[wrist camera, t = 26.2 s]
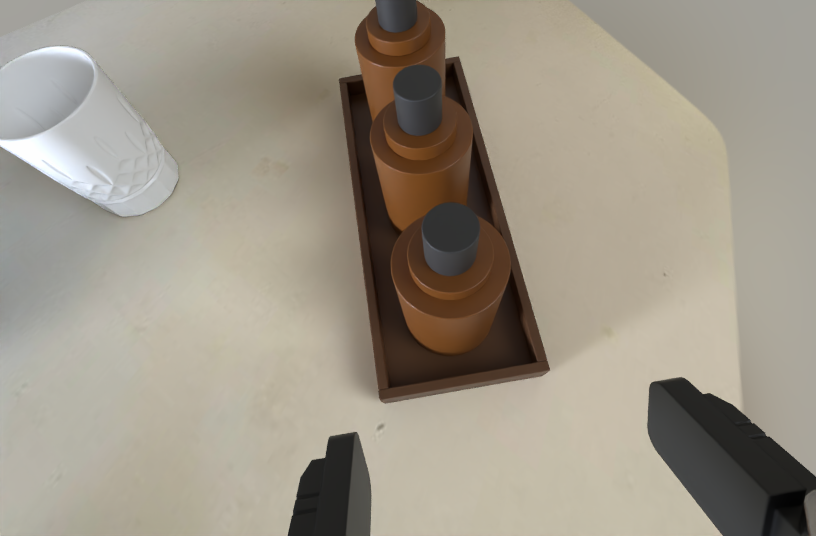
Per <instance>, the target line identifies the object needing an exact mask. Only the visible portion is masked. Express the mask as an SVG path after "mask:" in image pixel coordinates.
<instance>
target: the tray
mask: <svg viewBox="0 0 816 536" xmlns="http://www.w3.org/2000/svg"><path fill="white" fill-rule="evenodd" d="M339 83H340V91H341V99H342V107H343V114H344V122H345V130H346V138H347V146H348V154H349V162H350V170H351V177H352V185H353V193H354V201H355V209H356V217H357V225H358V232H359V240H360V248H361V256H362V264H363V272H364V280H365V287H366V295H367V303H368V311H369V319H370V327H371V335H372V342H373V350H374V358H375V366H376V374H377V382H378V389H379V398H380V400H381V401H382V402H383V403H391V402H397V401H402V400H408V399H414V398H419V397H425V396H431V395H436V394H442V393H448V392H454V391H459V390H465V389H471V388H476V387H482V386H488V385H493V384H499V383H505V382H511V381H516V380H522V379H528V378H533V377H539V376H543V375H544V374H546V373H547V372H548V371H550V368H549V364H548V361H546V360H547V358H546V354H545V351H544V347H543V344H542V341H541V337H540V334H539V330H538V327H537V323H536V320H535V316H534V313H533V310H532V306H531V303H530V299H529V296H528V292H527V289H526V285H525V282H524V279H523V275H522V272H521V268H520V265H519V261H518V258H517V255H516V251H515V248H514V244H513V241H512V237H511V234H510V230H509V227H508V224H507V220H506V217H505V213H504V210H503V206H502V203H501V199H500V196H499V193H498V189H497V186H496V182H495V179H494V175H493V172H492V169H491V165H490V162H489V158H488V155H487V151H486V148H485V144H484V141H483V138H482V134H481V131H480V127H479V124H478V120H477V117H476V113H475V110H474V107H473V103H472V100H471V96H470V93H469V89H468V86H467V82H466V79H465V76H464V72H463V69H462V65H461V62H460V58H459V56H458V57H453V58H447V59H445V96H446V97H448V98H450V99H452V100H454V101H455V102H457V103H458V104H459V105H461V106H462V107H463V108H464V110H465V111H466V112H467V114H468V115H469V117H470V119H471V122H472V126H473V139H472V150H471V161H470V173H469V184H468V196H467V207H469V208H470V209H471V210H472V211H473V212H474V213H475V214H476V216H479V217H481V218H482V219H484V220H486V221H487V222H488V223H490V224H491V225H492V226H493V227H494V228H495V229H496V230H497V231H498V232H499V233H500V235H501V236H502V238H503V239H504V241H505V243H506V245H507V248H508V251H509V254H510V261H511V269H510V276H509V280H508V283H507V285H506V288H505V291H504V294H503V296H502V299H501V302H500V304H499V307H498V310H497V312H496V315H495V318H494V320H493V323H492V326H491V328H490V331H489V333H488V335H487V336H486V338H485V339H484V341H483V342H482V343H481V344H480V345H479V346H477V347H476V348H475V349H473V350H472V351H470V352H467V353H465V354H462V355H457V356H442V355H438V354H434V353H432V352H430V351H428V350H426V349H424V348H423V347H422V346H420V345H419V344H418V343H417V342H416V341H415V339H414V338H413V337H412V335H411V333H410V331H409V329H408V327H407V323H406V320H405V317H404V314H403V311H402V307H401V304H400V301H399V298H398V294H397V291H396V288H395V285H394V282H393V278H392V274H391V256H392V252H393V248H394V246H395V243H396V241H397V239H398V238H399V236H400V235H399V234H398V233H397V232H396V231H395V230H394V228H393V227H392V225H391V223H390V220H389V216H388V212H387V208H386V204H385V200H384V196H383V192H382V188H381V184H380V180H379V176H378V172H377V167H376V163H375V159H374V155H373V151H372V147H371V143H370V131H371V126H372V124H373V122H372V117H371V113H370V108H369V104H368V100H367V95H366V91H365V86H364V82H363V77H362V74H361V75H355V76H350V77H345V78H339Z"/></svg>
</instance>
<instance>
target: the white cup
mask: <svg viewBox="0 0 816 536" xmlns="http://www.w3.org/2000/svg"><path fill="white" fill-rule="evenodd" d="M0 146H1V147H2V148H4V149H5V150H7V151H9V152H10V153H12V154H14V155H15V156H17V157H18V158H20V159H22V160H23V161H25V162H26V163H28V164H30V165H31V166H33V167H34V168H36V169H37V170H39V171H41V172H42V173H44V174H45V175H47V176H49V177H50V178H52V179H53V180H55V181H57V182H58V183H60V184H62V185H64V186H65V187H67V188H69V189H71V190H72V191H74V192H76V193H77V194H79V195H81V196H82V197H84V198H86V199H89V200H91V201H93V202H94V203H96V204H97V205H99V206H100V207H102V208H103V209H105V210H107V211H109V212H111V213H114V214H116V215H119V216H121V217H126V216H137V215H142V214H144V213H146V212H149V211H151V210H153V209H155V208H157V207H159V206H160V205H161V204H162V203H163V202H164V201H165V200H166V199H167V198H168V197H169V196H170V195H171V194H172V192H173V190H174V188H175V185H176V183H177V181H178V179H179V176H178V164H177V162H176V161H175V160H174V159H173V157H172V156H171V155H170V153H169V152H168V151H167V150H166V149H165V148H164V146H163V145H162V144H161V142H160V141H159V140H158V137H157V135H156V134H155V133H154V132H153V131H152V129H151V128H150V127H149V125H148V124H147V122H146V121H145V120H144V119H143V118H142V116H141V115H140V114H139V113H138V112H137V111H136V109H135V108H134V107H133V106H132V105H131V103H130V102H129V101H128V100H127V99H126V97H125V96H124V95H123V94H122V92H121V91H120V90H119V89H118V88H117V86H116V85H115V84H114V83H113V82H112V80H111V79H110V78H109V77H108V76H107V74H106V73H105V72H104V71H103V70H102V68H101V67H100V66H99V65H98V64H97V62H96V61H95V60H94V59H93V57H92V56H91V55H90V54H88V53H87V52H86V51H84V50H82V49H79V48H76V47H72V46H64V45H57V46H48V47H43V48H39V49H36V50H33V51H30V52H27V53H25V54H23V55H20V56H18V57H16V58H15V59H13V60H11V61H10V62H8V63H6V64H5V65H4V66H2V67H1V68H0Z"/></svg>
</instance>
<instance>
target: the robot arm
mask: <svg viewBox="0 0 816 536" xmlns="http://www.w3.org/2000/svg"><path fill="white" fill-rule="evenodd" d="M647 428H648V434H649V437H650V440H651V442H652V444H653V446H654V448H655V450H656V451H657V452H658V454H659V455H660V456H661V457H662V459H663V460H664V461H665V463H666V464H667V465H668V466H669V468H670V469H671V470H672V471H673V473H674V474H675V475H676V477H677V478H678V479H679V480H680V482H681V483H682V484H683V486H684V487H685V488H686V489H687V491H688V492H689V493H690V494H691V496H692V497H693V498H694V500H695V501H696V502H697V503H698V505H699V506H700V507H701V508H702V510H703V511H704V512H705V514H706V515H707V516H708V517H709V519H710V520H711V521H712V523H713V524H714V525H715V526H716V528H717V529H718V530H719V531H720V533H721V534H722V535H723V536H816V477H815V476H814V475H813V474H812V473H811V472H810V471H809V470H807V469H806V468H805V467H804V466H803V465H802V464H800V463H799V462H798V461H797V460H796V459H795V458H794V457H792V456H791V455H790V454H789V453H788V452H787V451H785V450H784V449H783V448H782V447H781V446H780V445H778V444H777V443H776V442H775V441H774V440H773V439H772V438H770V437H767V436H766V435H765V432H763V431H762V430H761V429H760V428H759V427H758V426H756V425H755V424H754V423H753V424H752V423H751V421H750V419H748V418H747V417H746V416H745V415H744V414H743V413H741V412H740V411H739V410H738V409H737V408H736V407H735V406H733V405H732V404H730V403H728V402H726V401H724V400H722V399H720V398H718V397H716V396H714V395H712V394H710V393H708V394H702V393H701V392H700V391H699V390H698V389H697V388H696V387H694V386H693V385H692V384H691V383H690V382H689V381H688V380H686V379H685V378H682V377H679V378H673V379H667V380H661V381H655V382H652V383H651V384H650V387H649V404H648V423H647ZM296 497H297V500H296V501H295V505H294V510H293V516H292V519H291V523H290V528H289V532H288V536H370V525H371V484H370V477H369V472H368V468H367V465H366V461H365V457H364V453H363V450H362V446H361V442H360V439H359V435H358V433H357V432H353V433H347V434H341V435H335V436H330V437H329V439H328V445H327V451H326V457H325V458H322V459H316V460H312V461H311V462H310V464H309V465H308V467H307V469H306V470H305V472H304V473H303V475H302V476H301V478H300V483H299V487H298V492H297V496H296Z"/></svg>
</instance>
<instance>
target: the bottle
mask: <svg viewBox="0 0 816 536" xmlns="http://www.w3.org/2000/svg"><path fill="white" fill-rule="evenodd" d="M510 269H511V261H510V254H509V251H508V248H507V245H506V243H505V241H504V239H503V238H502V236H501V235H500V233H499V232H498V231H497V230H496V229H495V228H494V227H493V226H492V225H491V224H490V223H488V222H487V221H486V220H484V219H482V218H481V217H479V216H476V214H475V213H474V212H473V211H472V210H471V209H470V208H469V207H467V206H465V205H463V204H460V203H454V202H448V203H443V204H439V205H437V206H435V207H434V208H432V209H431V210H430V211H429V212H428V213H427V214H426V215H425V216H422V217H421V218H419V219H417V220H415V221H414V222H413V223H411V224H410V225H409V226H408V227H407V228H406V229H405V230H404V231H403V232H402V233H401V235H400V236H399V238H398V239H397V241H396V243H395V246H394V248H393V252H392V256H391V274H392V278H393V282H394V285H395V288H396V291H397V294H398V298H399V301H400V304H401V307H402V311H403V314H404V317H405V320H406V323H407V327H408V329H409V331H410V333H411V335H412V337H413V338H414V339H415V341H416V342H417V343H418V344H419V345H420V346H422V347H423V348H424V349H426V350H428V351H430V352H432V353H434V354H438V355H442V356H457V355H462V354H465V353H467V352H470V351H472V350H473V349H475V348H476V347H477V346H479V345H480V344H481V343H482V342H483V341H484V339H485V338H486V336H487V335H488V333H489V331H490V328H491V326H492V323H493V320H494V318H495V315H496V312H497V310H498V307H499V304H500V302H501V299H502V296H503V294H504V291H505V288H506V285H507V283H508V280H509V276H510Z"/></svg>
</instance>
